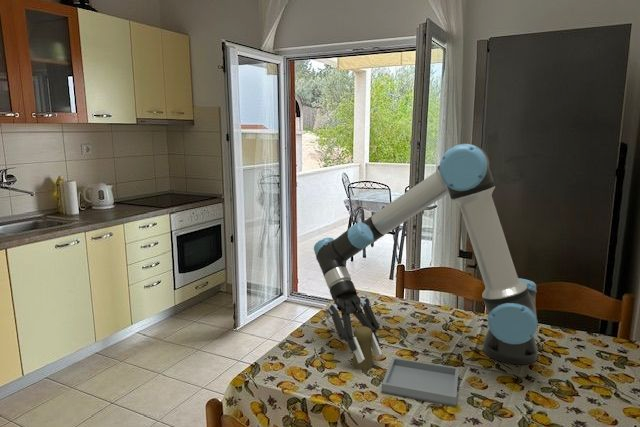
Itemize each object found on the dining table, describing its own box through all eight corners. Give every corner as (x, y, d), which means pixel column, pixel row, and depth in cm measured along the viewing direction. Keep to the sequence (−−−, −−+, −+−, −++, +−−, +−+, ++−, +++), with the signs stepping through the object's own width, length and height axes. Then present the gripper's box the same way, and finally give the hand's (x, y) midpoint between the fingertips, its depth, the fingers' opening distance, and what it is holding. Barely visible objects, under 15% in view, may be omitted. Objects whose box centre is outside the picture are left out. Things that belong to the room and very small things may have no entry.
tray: (458, 376, 119) (458, 367, 119) (455, 407, 105) (456, 397, 105) (392, 365, 125) (392, 356, 125) (381, 392, 111) (381, 383, 111)
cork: (372, 370, 122) (373, 333, 120) (350, 368, 123) (351, 331, 122) (374, 360, 128) (375, 324, 126) (353, 358, 129) (354, 323, 127)
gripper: (360, 286, 140) (390, 356, 129) (309, 295, 132) (337, 371, 120) (370, 274, 135) (402, 346, 123) (318, 283, 126) (347, 361, 115)
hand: (370, 358), depth 122 cm, fingers closed on cork, 5 cm apart
